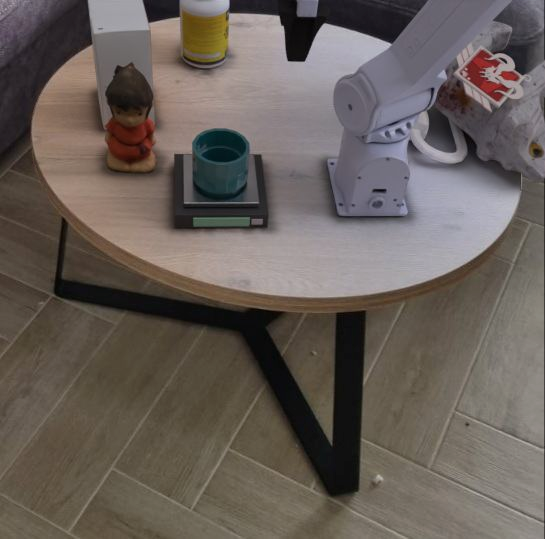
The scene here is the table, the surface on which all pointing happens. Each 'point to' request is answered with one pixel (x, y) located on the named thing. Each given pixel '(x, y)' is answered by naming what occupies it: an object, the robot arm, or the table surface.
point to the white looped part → (418, 137)
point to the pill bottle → (204, 32)
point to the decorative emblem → (488, 76)
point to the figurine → (130, 122)
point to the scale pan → (202, 198)
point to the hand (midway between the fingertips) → (292, 41)
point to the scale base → (219, 215)
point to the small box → (119, 44)
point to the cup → (220, 160)
